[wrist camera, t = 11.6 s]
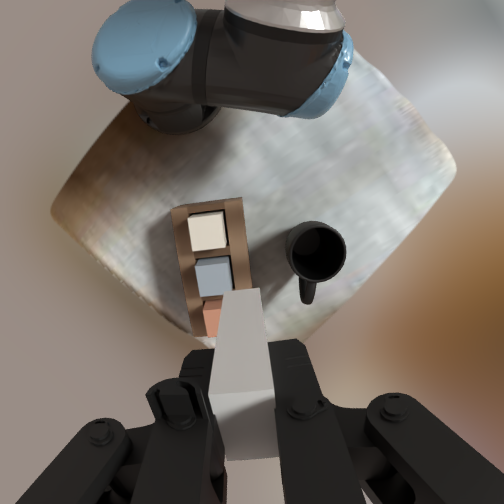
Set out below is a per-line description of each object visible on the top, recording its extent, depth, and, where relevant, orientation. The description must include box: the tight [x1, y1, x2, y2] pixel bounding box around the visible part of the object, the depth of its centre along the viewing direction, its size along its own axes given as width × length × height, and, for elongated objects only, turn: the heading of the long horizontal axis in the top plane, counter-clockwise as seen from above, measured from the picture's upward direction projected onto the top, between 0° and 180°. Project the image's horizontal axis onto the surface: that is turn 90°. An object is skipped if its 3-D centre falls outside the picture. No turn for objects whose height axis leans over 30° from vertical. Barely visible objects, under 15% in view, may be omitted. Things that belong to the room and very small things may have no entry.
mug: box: [286, 221, 346, 305], centre depth 45 cm, size 8×12×10 cm
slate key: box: [195, 255, 233, 297], centre depth 44 cm, size 4×4×7 cm
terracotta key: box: [203, 299, 223, 337], centre depth 45 cm, size 4×4×7 cm
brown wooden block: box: [171, 197, 253, 337], centre depth 46 cm, size 20×10×7 cm, turn 6°
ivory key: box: [188, 209, 228, 251], centre depth 42 cm, size 4×4×7 cm
